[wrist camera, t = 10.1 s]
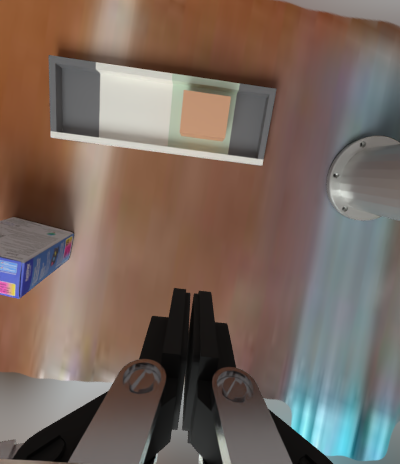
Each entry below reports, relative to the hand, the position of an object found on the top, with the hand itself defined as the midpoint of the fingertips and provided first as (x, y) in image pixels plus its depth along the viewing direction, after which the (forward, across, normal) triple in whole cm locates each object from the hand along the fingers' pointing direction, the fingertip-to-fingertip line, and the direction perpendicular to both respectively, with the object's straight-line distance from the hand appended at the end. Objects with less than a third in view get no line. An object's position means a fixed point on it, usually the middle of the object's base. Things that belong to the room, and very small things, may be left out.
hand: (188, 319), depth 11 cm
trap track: (+29, +6, -13) cm, 32 cm away
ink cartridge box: (+29, +24, +8) cm, 39 cm away
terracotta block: (+29, 0, -13) cm, 32 cm away
